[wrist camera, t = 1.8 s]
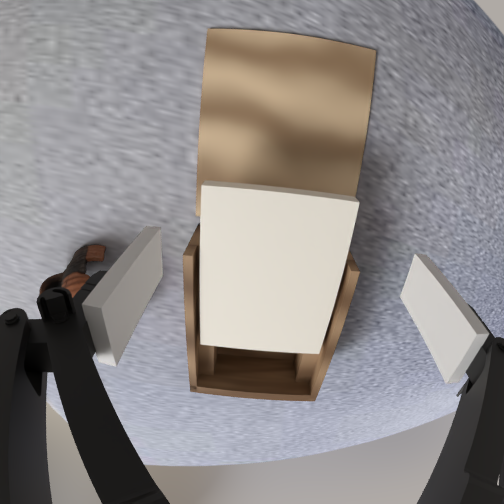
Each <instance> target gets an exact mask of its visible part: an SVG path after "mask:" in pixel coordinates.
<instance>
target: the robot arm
mask: <svg viewBox="0 0 504 504" xmlns="http://www.w3.org/2000/svg"><path fill="white" fill-rule="evenodd" d="M162 277H163V267H162V248H161V227H151V226H146V227H145V228H144V229H143V230H142V232H141V233H140V234H139V235H138V236H137V237H136V238H135V240H134V241H133V242H132V243H131V244H130V245H129V247H128V248H127V249H126V250H125V251H124V252H123V254H122V255H121V256H120V257H119V258H118V260H117V261H116V262H115V263H114V264H113V266H112V267H111V268H110V269H109V270H108V271H101V270H100V271H98V272H97V273H95V274H93V275H92V276H91V277H90V278H89V279H88V280H87V281H86V282H85V284H84V285H83V286H82V287H81V289H80V290H79V291H78V292H77V293H76V294H75V296H74V297H73V298H72V294H71V292H70V291H69V290H68V289H66V288H63V287H55V288H51V289H48V290H45V291H44V292H43V293H41V294H40V295H39V297H38V298H37V305H38V309H39V311H40V314H41V317H42V319H28V317H27V314H26V312H25V311H24V310H22V309H20V308H13V309H9V310H7V311H5V312H4V313H3V314H2V315H0V504H52V498H51V491H50V482H49V473H48V462H47V446H46V445H47V444H46V389H47V372H53V373H54V377H55V380H56V384H57V388H58V392H59V395H60V399H61V402H62V405H63V408H64V412H65V415H66V418H67V421H68V424H69V427H70V430H71V432H72V435H73V438H74V441H75V443H76V446H77V449H78V451H79V454H80V456H81V459H82V461H83V463H84V466H85V468H86V470H87V473H88V475H89V477H90V479H91V481H92V484H93V486H94V488H95V490H96V492H97V494H98V496H99V498H100V500H101V502H102V504H170V503H169V502H168V500H167V499H166V497H165V496H164V494H163V493H162V492H161V490H160V489H159V488H158V486H157V485H156V483H155V482H154V480H153V479H152V477H151V476H150V474H149V472H148V471H147V469H146V467H145V466H144V464H143V462H142V461H141V459H140V457H139V455H138V454H137V452H136V450H135V448H134V447H133V445H132V443H131V441H130V439H129V437H128V435H127V434H126V432H125V430H124V428H123V426H122V424H121V422H120V420H119V418H118V416H117V414H116V412H115V410H114V408H113V405H112V403H111V401H110V399H109V397H108V395H107V392H106V390H105V388H104V386H103V383H102V381H101V379H100V376H99V374H98V371H97V369H96V366H95V364H94V361H93V359H92V357H93V355H94V353H95V352H96V355H97V358H98V361H99V362H100V363H104V364H108V365H112V366H116V367H117V365H118V362H119V360H120V358H121V356H122V354H123V352H124V350H125V348H126V346H127V344H128V342H129V340H130V338H131V336H132V334H133V332H134V330H135V328H136V326H137V324H138V322H139V320H140V318H141V316H142V314H143V312H144V310H145V308H146V307H147V305H148V303H149V301H150V299H151V297H152V295H153V293H154V291H155V289H156V288H157V286H158V284H159V282H160V280H161V278H162ZM400 298H401V299H402V301H403V303H404V305H405V306H406V308H407V310H408V312H409V313H410V315H411V317H412V319H413V321H414V322H415V324H416V326H417V328H418V330H419V332H420V333H421V335H422V337H423V339H424V341H425V343H426V345H427V347H428V349H429V351H430V353H431V354H432V356H433V358H434V360H435V362H436V364H437V366H438V368H439V370H440V373H441V375H442V377H443V379H444V381H445V383H446V384H451V383H458V382H459V381H460V380H461V378H462V377H463V375H464V374H465V373H467V375H468V377H469V378H468V380H467V381H466V383H465V384H464V385H463V387H462V388H461V390H460V391H459V392H458V394H457V395H456V396H457V397H458V396H459V395H460V394H462V395H461V398H460V402H459V405H458V408H457V411H456V414H455V417H454V420H453V423H452V426H451V429H450V431H449V434H448V437H447V439H446V442H445V444H444V447H443V449H442V452H441V454H440V457H439V459H438V461H437V464H436V466H435V468H434V470H433V473H432V475H431V477H430V479H429V481H428V483H427V485H426V487H425V489H424V491H423V493H422V495H421V497H420V499H419V500H418V502H417V504H504V338H501V337H496V338H495V337H494V336H493V334H492V333H491V332H490V330H489V329H488V327H487V326H486V325H485V323H484V322H483V321H482V319H481V318H480V317H479V316H478V314H477V313H476V311H475V310H474V309H473V308H472V307H471V306H470V305H469V304H467V303H466V302H465V300H464V299H463V298H462V297H461V295H460V294H459V293H458V292H457V290H456V289H455V288H454V287H453V285H452V284H451V283H450V282H449V281H448V279H447V278H446V277H445V276H444V275H443V273H442V272H441V271H440V270H439V269H438V268H437V266H436V265H435V264H434V263H433V262H432V261H431V260H430V258H429V257H428V256H427V255H423V254H415V255H414V258H413V261H412V264H411V267H410V270H409V273H408V276H407V279H406V282H405V284H404V287H403V290H402V293H401V295H400ZM499 473H500V476H499ZM498 477H499V486H498V485H497V481H498Z"/></svg>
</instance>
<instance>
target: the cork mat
mask: <svg viewBox="0 0 504 504" xmlns="http://www.w3.org/2000/svg"><path fill="white" fill-rule="evenodd" d="M375 59H376V51H375V50H372V49H368V48H364V47H360V46H355V45H351V44H347V43H342V42H337V41H332V40H327V39H321V38H315V37H309V36H303V35H296V34H288V33H279V32H269V31H257V30H241V29H208V31H207V40H206V50H205V60H204V71H203V83H202V96H201V109H200V125H199V143H198V164H197V191H196V216H201V185H202V184H203V183H204V181H205V180H208V181H221V182H233V183H245V184H256V185H266V186H275V187H285V188H293V189H302V190H310V191H318V192H326V193H333V194H340V195H347V196H354V197H355V196H356V191H357V186H358V180H359V175H360V169H361V164H362V158H363V152H364V146H365V140H366V133H367V126H368V119H369V112H370V104H371V96H372V88H373V79H374V69H375Z"/></svg>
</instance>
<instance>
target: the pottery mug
mask: <svg viewBox="0 0 504 504" xmlns="http://www.w3.org/2000/svg"><path fill="white" fill-rule="evenodd" d="M105 248H106V247H105V246H101V245H90V246H85V247H82V248H80V249H79V250H77V251H76V252H75V254H74V256H73V258H72V260H71V262H70V263H69V265H68V266H67V269H66V270H65V271H64V272H63V273H60V274H56V275H53V276H51V277H49V278H47V279H46V280H45V281H44V282H43V283H42V285H41V287H40V294H41V293H43V292H44V291H45V290H48V289H51V288H55V287H63V288H66V289H68V290H69V291H70V292H71V294H72V298H73V297H74V296H75V294H76V293H77V292H78V291H79V290H80V289H81V287H82V286H83V285H84V284H85V282H86V281H87V280H88V279H89V278H90V276H89V275H87V274H85V273H86V263H87V262H90V261H101V262H102V261H103V260H104V252H105ZM40 294H39V295H40Z"/></svg>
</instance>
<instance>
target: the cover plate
mask: <svg viewBox="0 0 504 504" xmlns="http://www.w3.org/2000/svg"><path fill="white" fill-rule="evenodd" d="M359 203H360V202H359V201H358V200H357V199H356V198H355V197H354V196H347V195H340V194H333V193H326V192H318V191H310V190H302V189H293V188H285V187H275V186H266V185H256V184H245V183H233V182H221V181H208V180H205V181H204V183H203V184H202V185H201V216H200V344H202V345H210V346H218V347H228V348H237V349H248V350H260V351H273V352H288V353H306V354H319V353H320V350H321V347H322V343H323V340H324V337H325V334H326V331H327V327H328V324H329V321H330V317H331V314H332V311H333V307H334V304H335V300H336V297H337V293H338V289H339V286H340V282H341V278H342V275H343V271H344V267H345V263H346V259H347V255H348V251H349V247H350V243H351V239H352V234H353V230H354V226H355V221H356V217H357V212H358V207H359Z"/></svg>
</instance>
